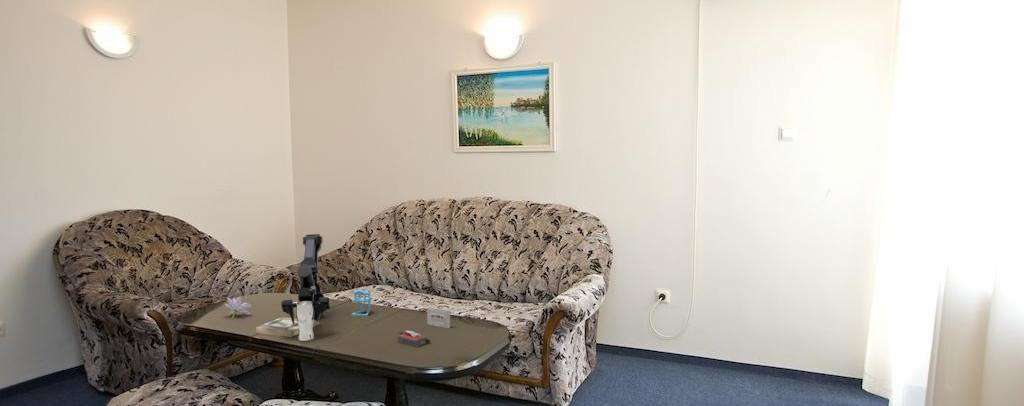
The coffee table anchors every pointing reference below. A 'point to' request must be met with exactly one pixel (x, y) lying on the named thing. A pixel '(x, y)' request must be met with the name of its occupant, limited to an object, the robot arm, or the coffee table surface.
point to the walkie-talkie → (412, 338)
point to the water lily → (238, 306)
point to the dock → (281, 327)
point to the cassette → (435, 321)
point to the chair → (362, 299)
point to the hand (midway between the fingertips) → (305, 322)
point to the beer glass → (305, 320)
